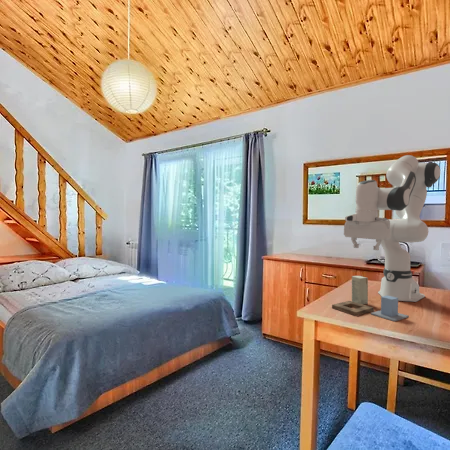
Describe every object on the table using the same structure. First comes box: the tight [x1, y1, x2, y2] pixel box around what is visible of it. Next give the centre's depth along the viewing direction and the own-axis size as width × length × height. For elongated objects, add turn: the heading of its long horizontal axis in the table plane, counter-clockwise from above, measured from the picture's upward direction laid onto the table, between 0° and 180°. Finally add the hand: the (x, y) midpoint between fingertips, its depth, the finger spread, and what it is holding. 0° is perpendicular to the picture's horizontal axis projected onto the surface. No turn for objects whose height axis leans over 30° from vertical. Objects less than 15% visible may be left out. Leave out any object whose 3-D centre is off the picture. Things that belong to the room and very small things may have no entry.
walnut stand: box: [331, 300, 375, 317], centre depth 135 cm, size 12×12×2 cm
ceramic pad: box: [370, 309, 409, 323], centre depth 127 cm, size 10×10×1 cm
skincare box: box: [351, 275, 369, 305], centre depth 145 cm, size 6×4×12 cm
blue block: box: [380, 295, 399, 317], centre depth 127 cm, size 4×4×7 cm
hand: (365, 248), depth 136 cm, fingers open, 8 cm apart
